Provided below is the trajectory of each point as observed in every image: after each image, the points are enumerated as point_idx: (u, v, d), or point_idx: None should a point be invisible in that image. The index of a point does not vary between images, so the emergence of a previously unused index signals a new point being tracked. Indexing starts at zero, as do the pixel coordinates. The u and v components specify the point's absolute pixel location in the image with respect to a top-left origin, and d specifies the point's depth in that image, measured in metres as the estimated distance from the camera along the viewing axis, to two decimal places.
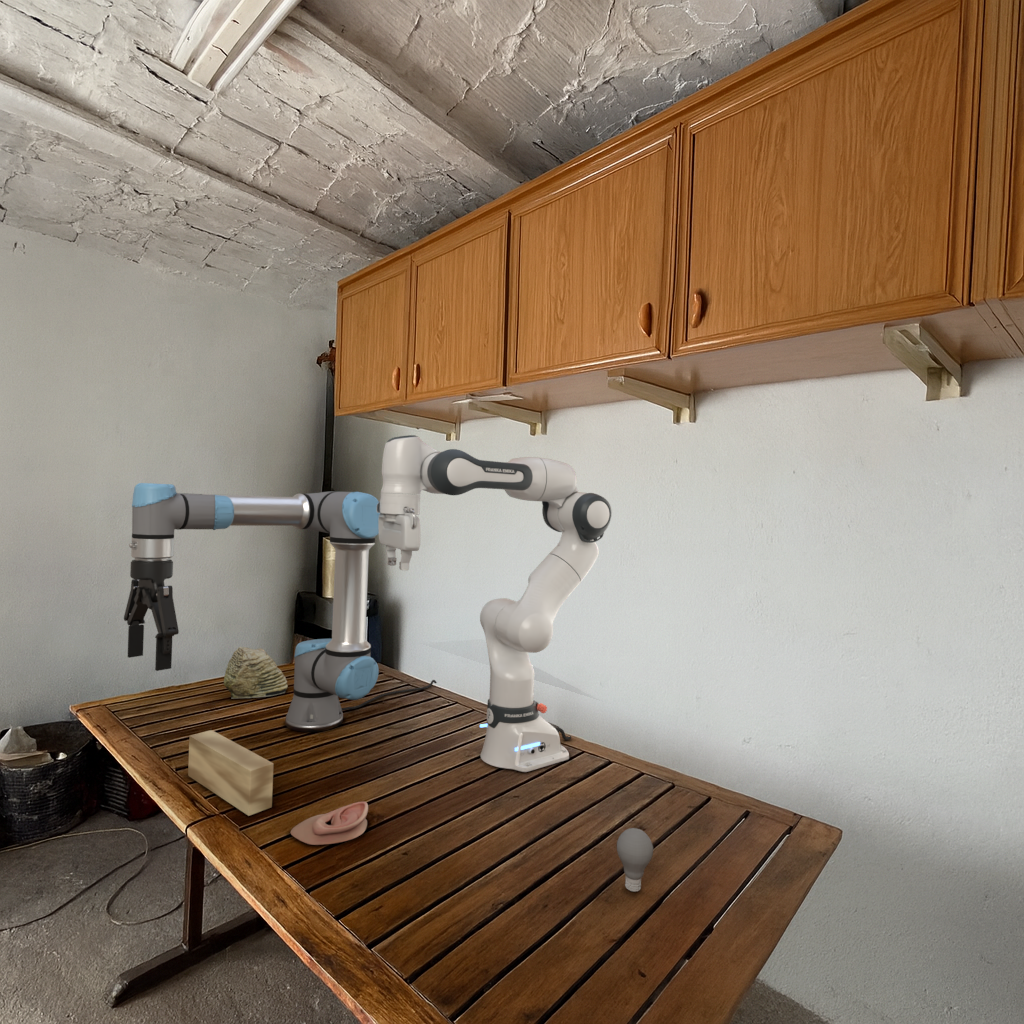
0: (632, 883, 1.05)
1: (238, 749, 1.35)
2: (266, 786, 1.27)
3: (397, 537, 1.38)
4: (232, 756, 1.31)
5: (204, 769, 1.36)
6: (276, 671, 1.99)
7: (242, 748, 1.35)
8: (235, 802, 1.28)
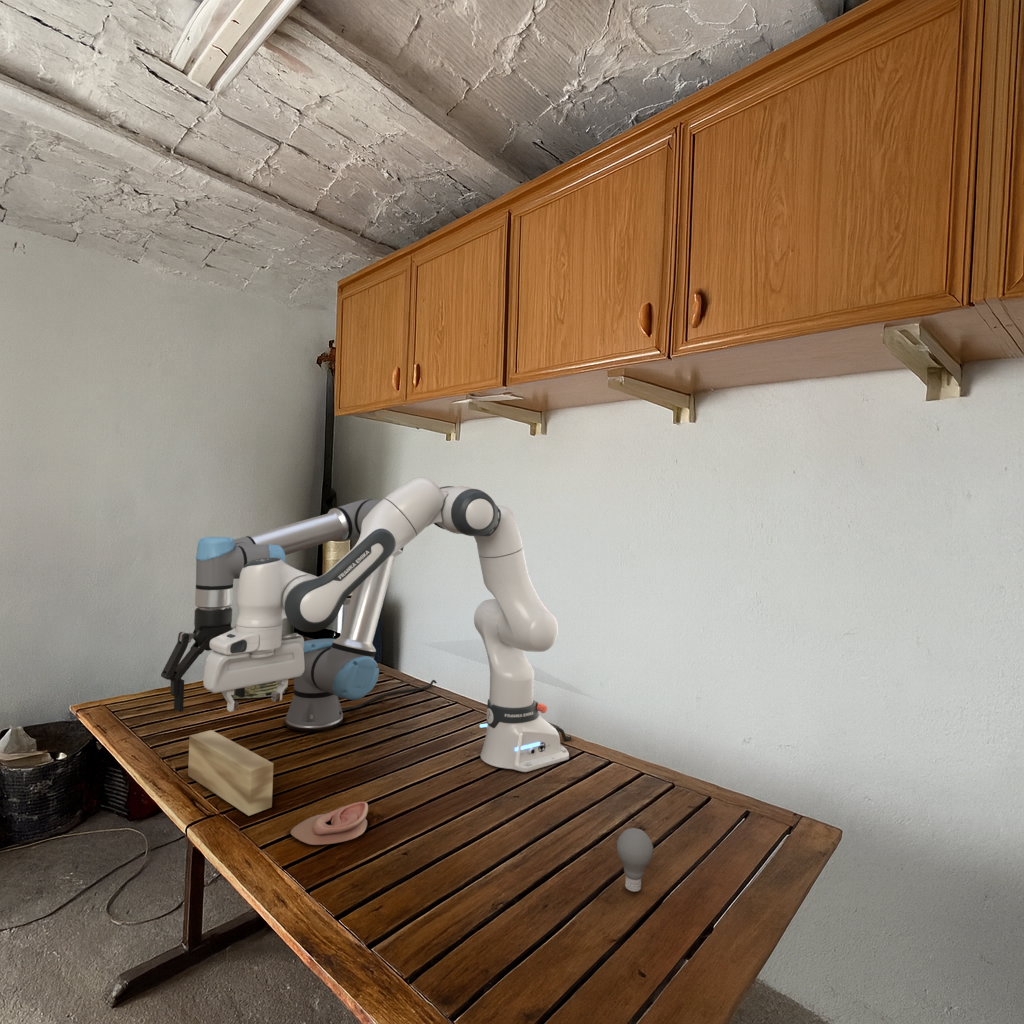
0: (632, 883, 1.05)
1: (238, 749, 1.35)
2: (266, 786, 1.27)
3: (284, 668, 1.31)
4: (232, 756, 1.31)
5: (204, 769, 1.36)
6: None
7: (242, 748, 1.35)
8: (235, 802, 1.28)
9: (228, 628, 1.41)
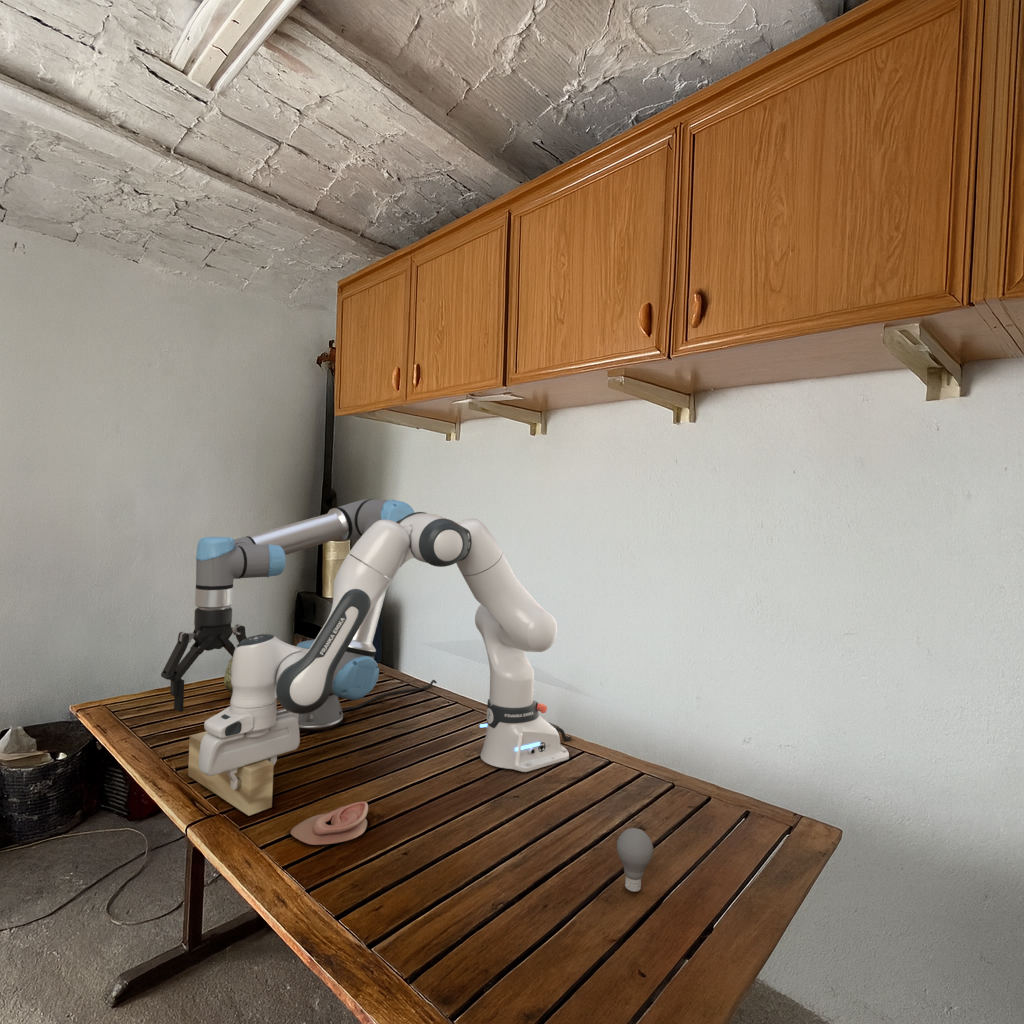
0: (632, 883, 1.05)
1: None
2: (266, 786, 1.27)
3: (279, 744, 1.32)
4: None
5: None
6: None
7: None
8: (235, 802, 1.28)
9: (228, 628, 1.41)
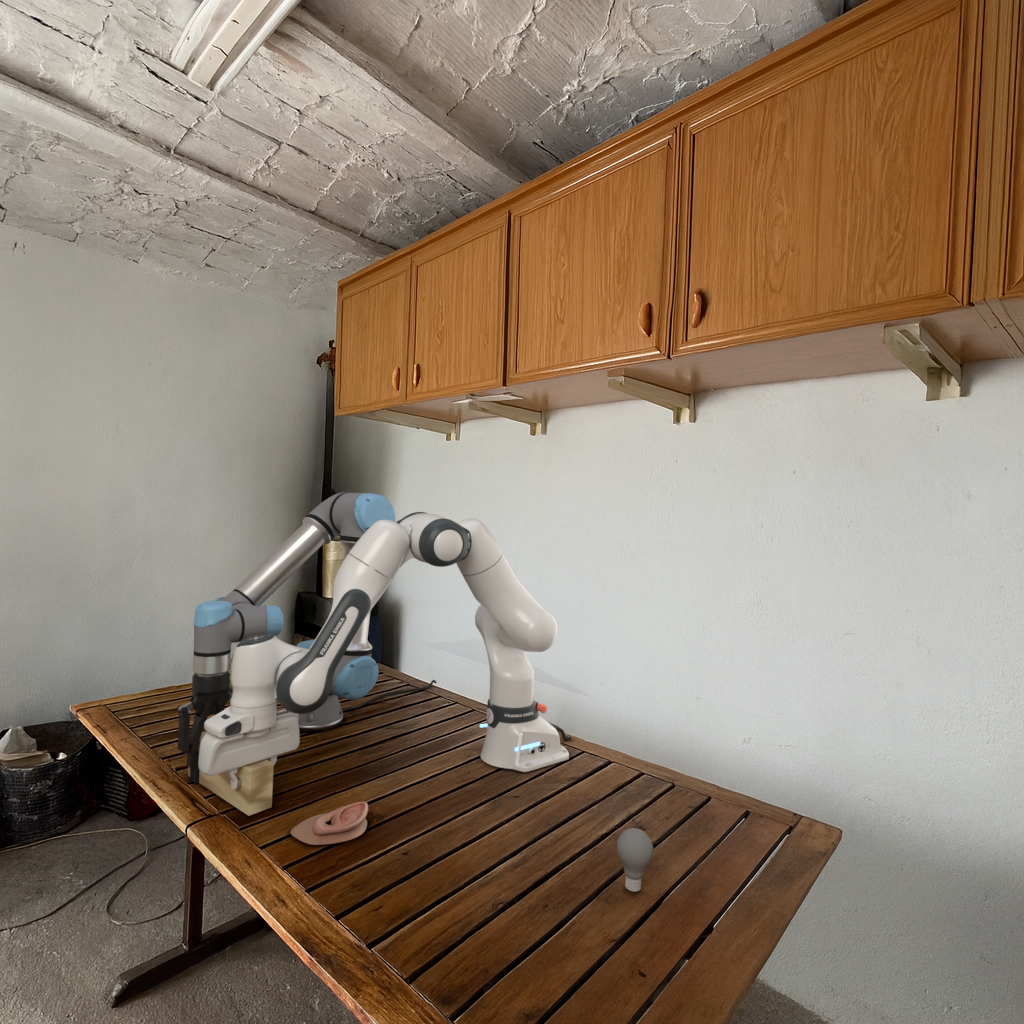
0: (632, 883, 1.05)
1: None
2: (266, 786, 1.27)
3: (279, 744, 1.32)
4: None
5: None
6: None
7: None
8: (235, 802, 1.28)
9: (226, 692, 1.42)
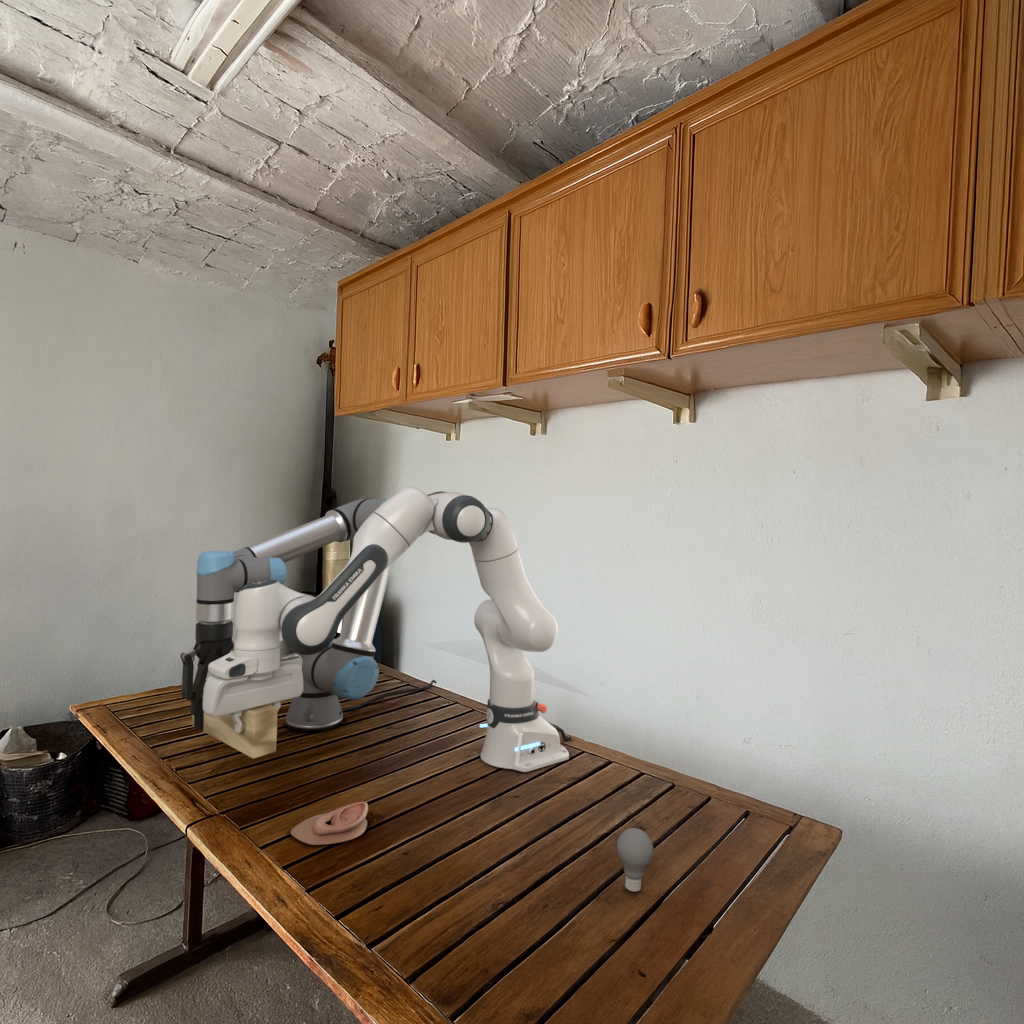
0: (632, 883, 1.05)
1: None
2: (271, 730, 1.27)
3: (283, 689, 1.32)
4: None
5: (208, 716, 1.36)
6: None
7: None
8: (239, 746, 1.28)
9: (229, 642, 1.42)
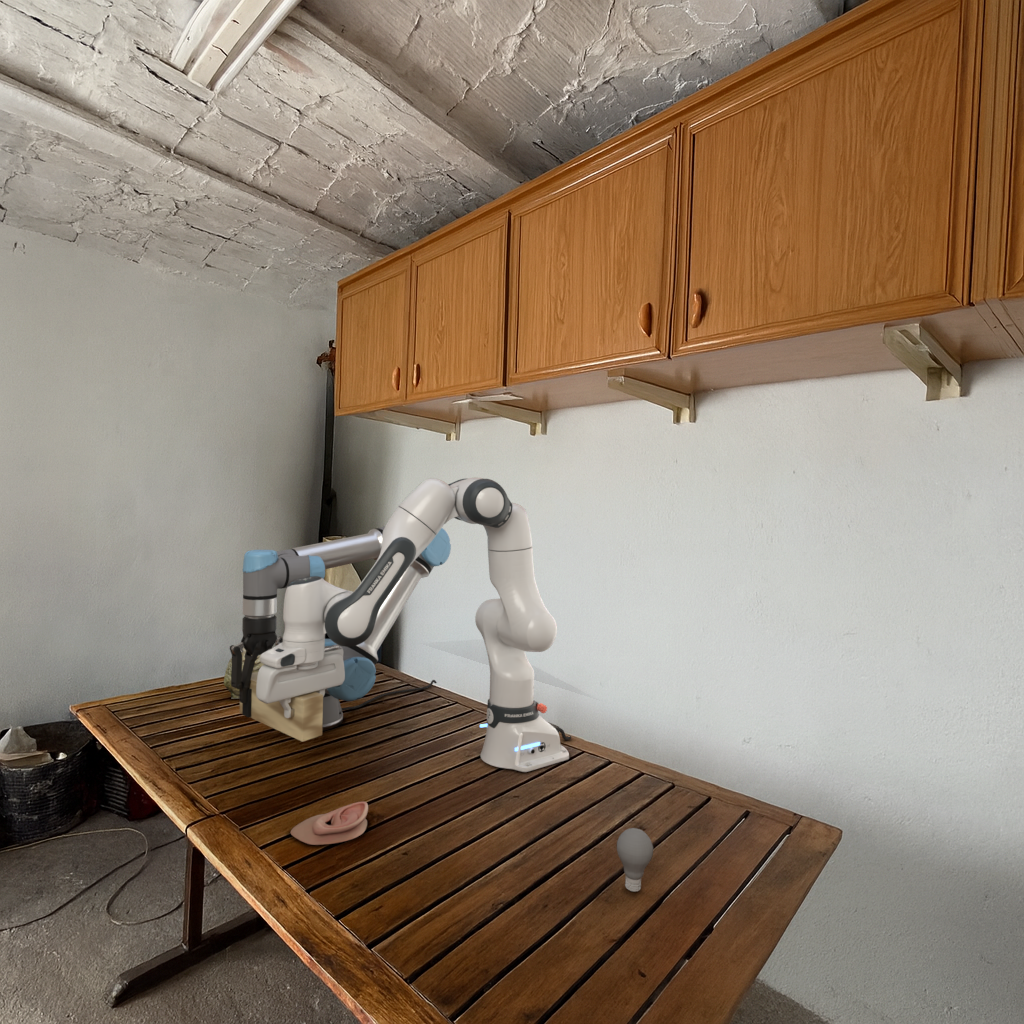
0: (632, 883, 1.05)
1: None
2: (317, 715, 1.38)
3: (327, 678, 1.42)
4: None
5: (255, 704, 1.46)
6: None
7: None
8: (288, 731, 1.38)
9: (273, 634, 1.52)
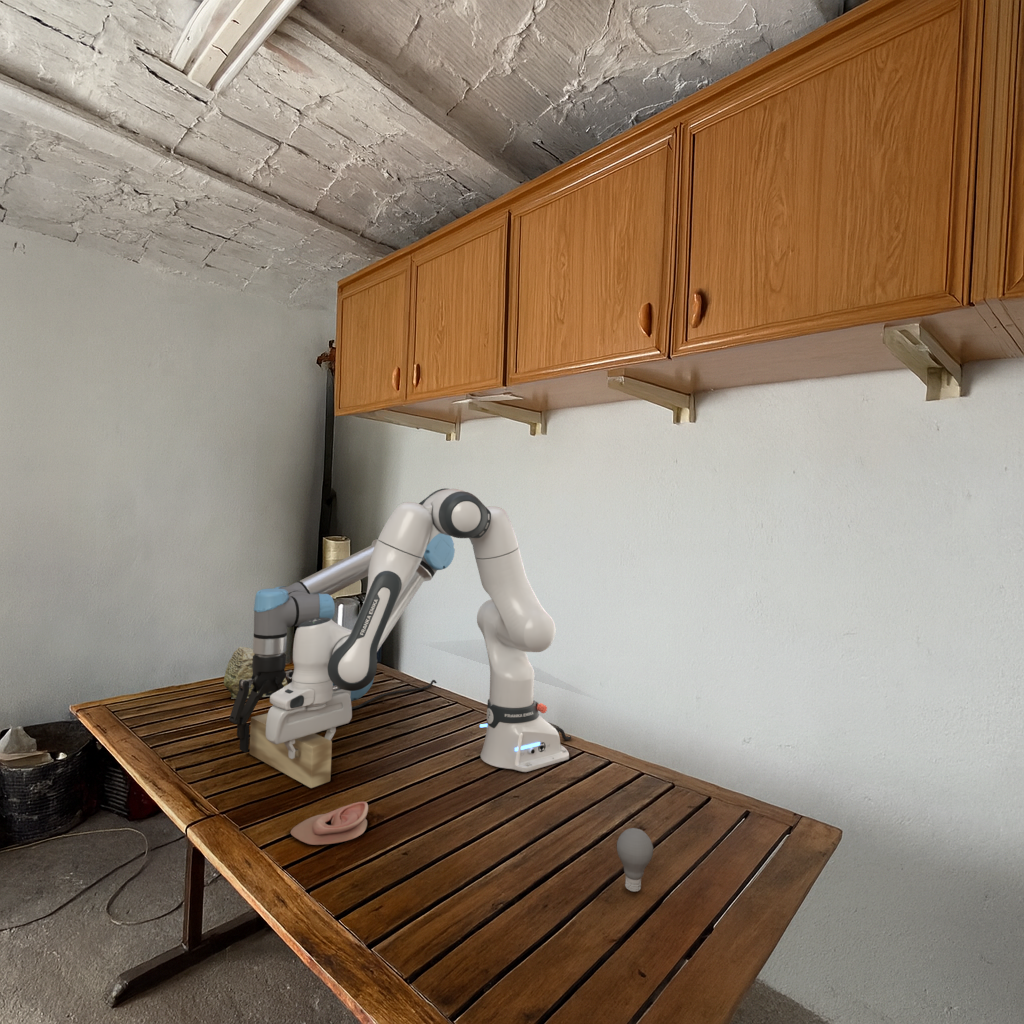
0: (632, 883, 1.05)
1: None
2: (326, 762, 1.40)
3: (335, 717, 1.45)
4: None
5: (265, 747, 1.49)
6: None
7: None
8: (297, 776, 1.41)
9: (282, 672, 1.55)
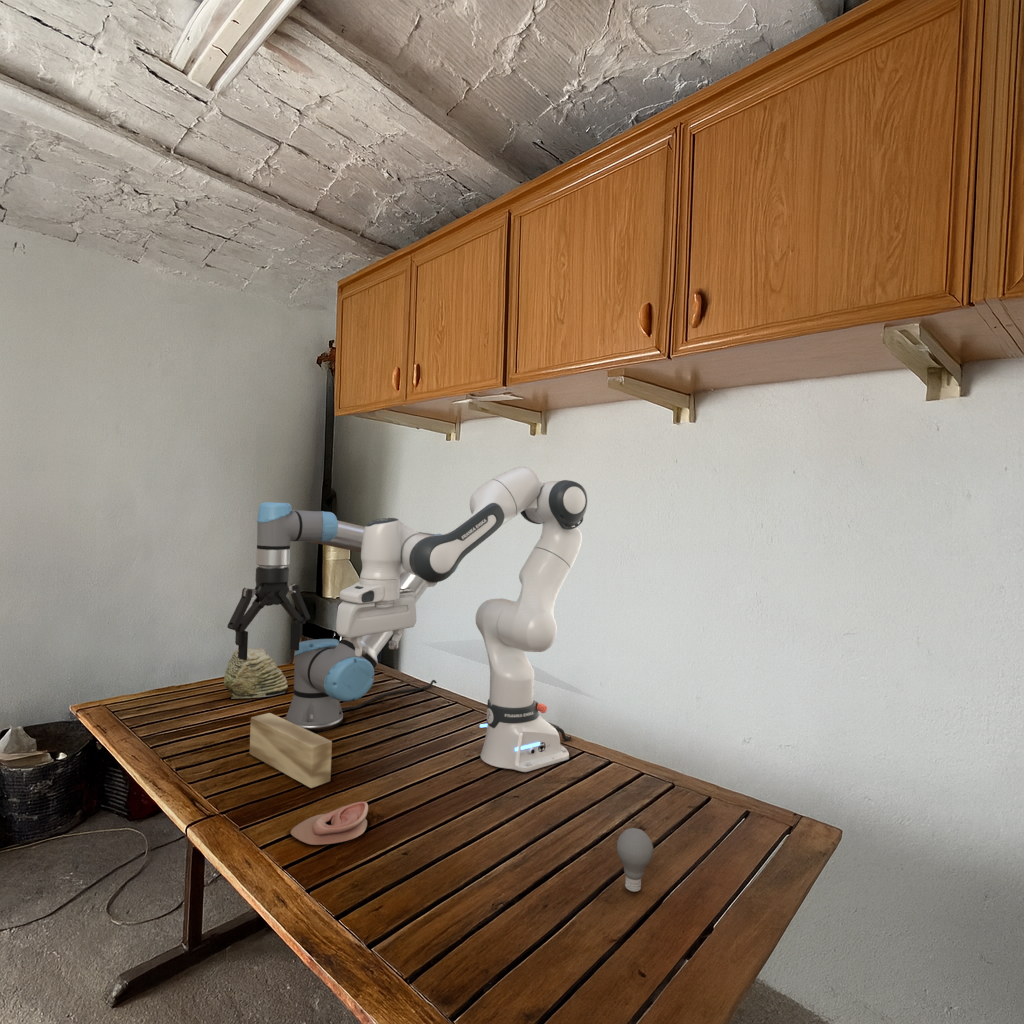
0: (632, 883, 1.05)
1: (297, 729, 1.47)
2: (326, 762, 1.40)
3: (401, 619, 1.44)
4: (293, 735, 1.43)
5: (265, 747, 1.49)
6: (276, 671, 1.99)
7: (301, 728, 1.48)
8: (297, 776, 1.41)
9: (285, 586, 1.54)
